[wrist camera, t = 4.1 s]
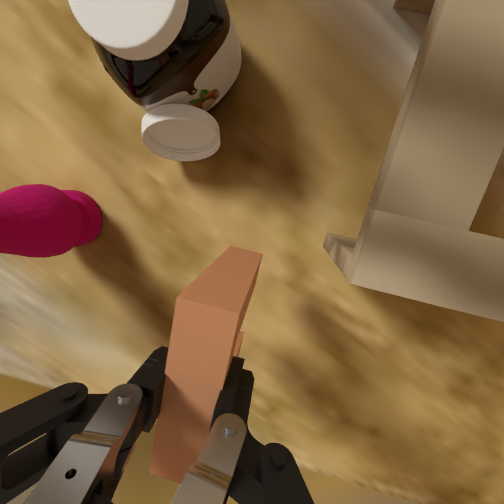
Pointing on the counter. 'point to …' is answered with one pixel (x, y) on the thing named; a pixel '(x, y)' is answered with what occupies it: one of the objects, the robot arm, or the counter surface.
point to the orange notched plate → (201, 358)
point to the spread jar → (168, 65)
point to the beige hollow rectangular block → (439, 170)
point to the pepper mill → (46, 220)
